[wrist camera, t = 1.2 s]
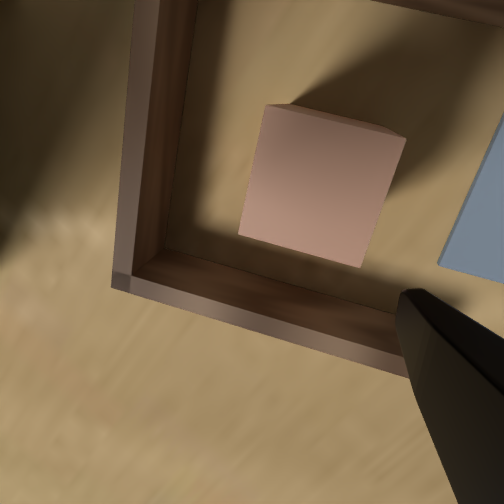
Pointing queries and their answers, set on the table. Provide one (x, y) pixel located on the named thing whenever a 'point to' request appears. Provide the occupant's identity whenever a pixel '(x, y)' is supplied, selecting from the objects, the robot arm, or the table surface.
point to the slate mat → (481, 220)
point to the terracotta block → (319, 182)
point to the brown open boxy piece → (159, 196)
